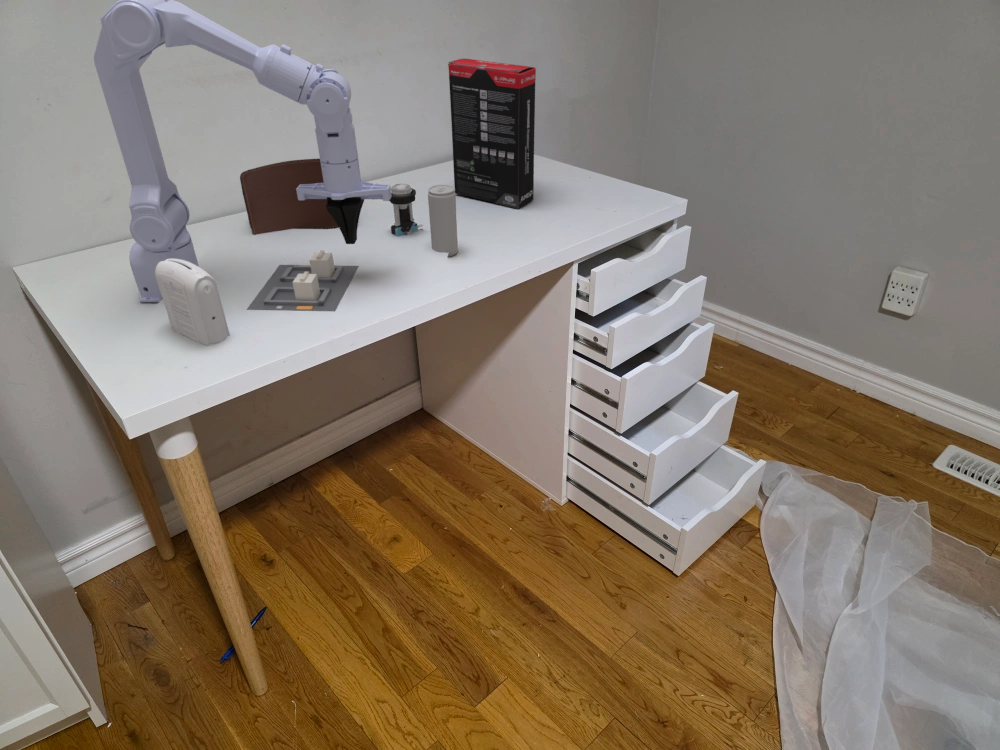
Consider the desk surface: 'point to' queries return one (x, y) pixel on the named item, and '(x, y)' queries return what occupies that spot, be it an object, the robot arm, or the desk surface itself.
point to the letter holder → (284, 197)
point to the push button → (403, 209)
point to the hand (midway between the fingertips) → (351, 241)
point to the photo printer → (192, 301)
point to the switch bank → (283, 297)
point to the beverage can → (443, 219)
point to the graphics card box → (493, 130)
